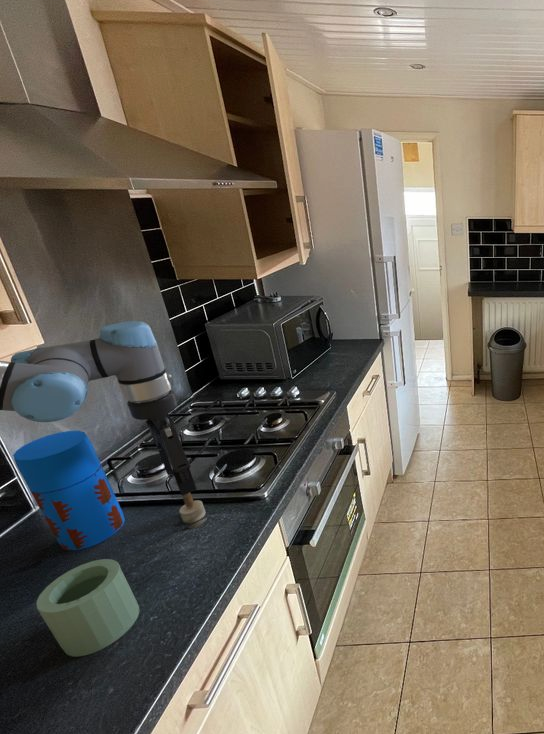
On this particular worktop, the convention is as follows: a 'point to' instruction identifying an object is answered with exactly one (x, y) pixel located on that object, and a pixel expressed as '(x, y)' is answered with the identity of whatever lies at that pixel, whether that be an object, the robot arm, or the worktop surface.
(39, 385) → the robot arm
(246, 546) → the worktop surface
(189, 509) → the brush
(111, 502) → the thermos
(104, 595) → the green faceted pot
